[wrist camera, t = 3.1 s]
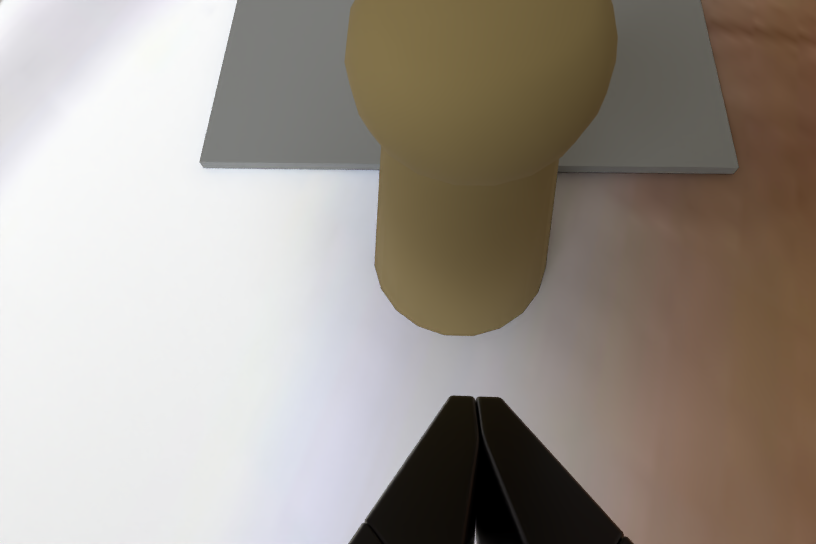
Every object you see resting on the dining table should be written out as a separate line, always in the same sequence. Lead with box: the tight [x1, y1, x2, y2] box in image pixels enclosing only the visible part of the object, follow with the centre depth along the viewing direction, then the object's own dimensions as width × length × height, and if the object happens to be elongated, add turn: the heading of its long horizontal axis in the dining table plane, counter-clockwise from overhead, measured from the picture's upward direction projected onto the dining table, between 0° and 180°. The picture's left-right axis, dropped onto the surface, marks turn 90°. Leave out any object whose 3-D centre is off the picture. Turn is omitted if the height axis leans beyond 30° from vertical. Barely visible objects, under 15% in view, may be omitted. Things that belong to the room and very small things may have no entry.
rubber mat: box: [200, 0, 739, 174], centre depth 23 cm, size 16×20×1 cm
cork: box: [344, 0, 618, 336], centre depth 14 cm, size 6×6×11 cm
